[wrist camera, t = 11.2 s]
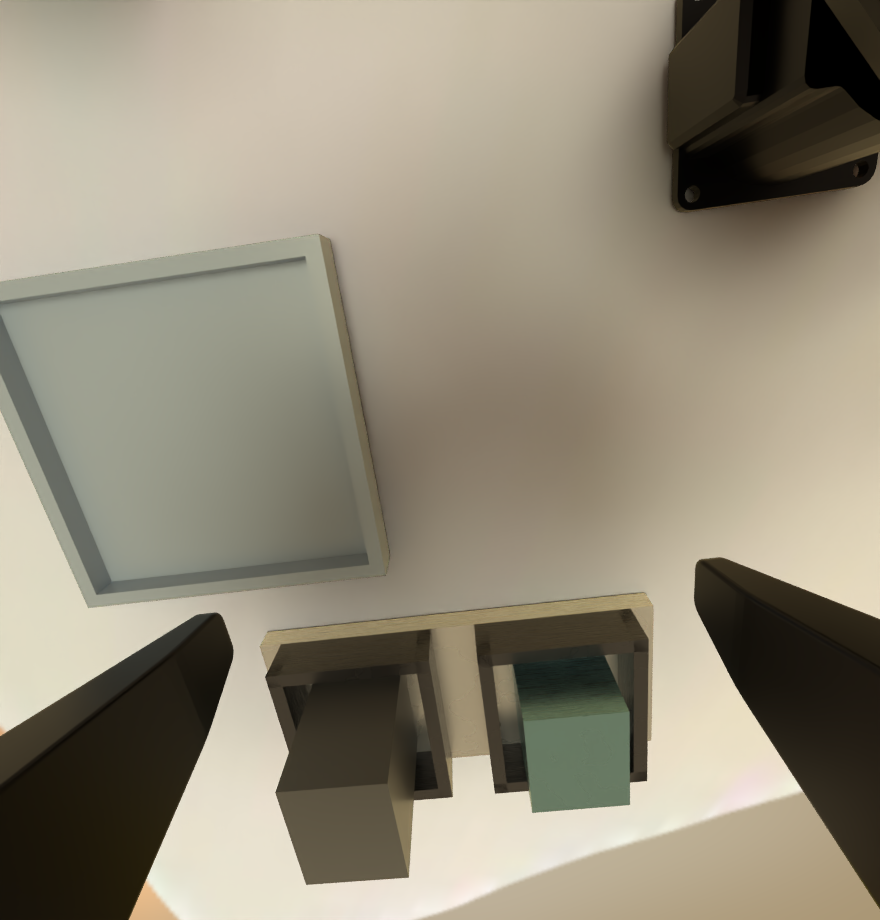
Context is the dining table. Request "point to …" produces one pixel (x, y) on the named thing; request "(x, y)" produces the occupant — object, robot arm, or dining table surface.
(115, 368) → the tray
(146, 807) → the robot arm
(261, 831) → the dining table surface
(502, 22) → the dining table surface
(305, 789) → the block
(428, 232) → the dining table surface
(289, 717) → the double socket holder
